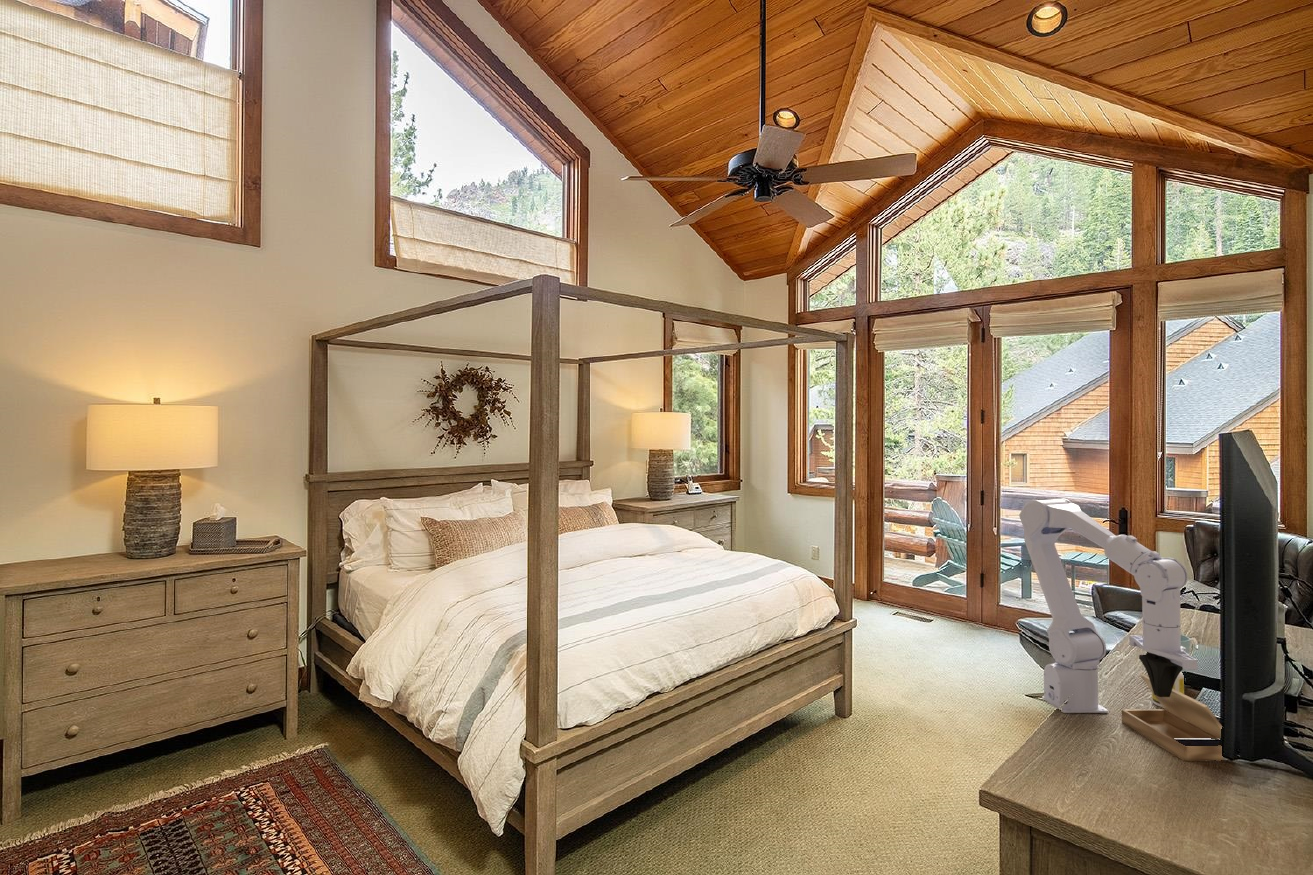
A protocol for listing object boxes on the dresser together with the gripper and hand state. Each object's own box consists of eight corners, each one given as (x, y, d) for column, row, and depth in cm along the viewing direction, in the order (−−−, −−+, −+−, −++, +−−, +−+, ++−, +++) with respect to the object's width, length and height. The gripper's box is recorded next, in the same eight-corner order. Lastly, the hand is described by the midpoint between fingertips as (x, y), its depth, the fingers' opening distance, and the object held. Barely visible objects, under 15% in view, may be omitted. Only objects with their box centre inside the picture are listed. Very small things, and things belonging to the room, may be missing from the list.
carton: (1184, 761, 117) (1184, 746, 117) (1121, 721, 133) (1121, 709, 133) (1233, 760, 117) (1233, 746, 117) (1164, 721, 133) (1164, 709, 133)
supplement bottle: (1173, 700, 143) (1172, 655, 143) (1190, 710, 138) (1190, 663, 138) (1146, 699, 143) (1145, 654, 143) (1162, 710, 138) (1162, 663, 138)
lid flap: (1204, 707, 117) (1207, 705, 117) (1139, 674, 133) (1141, 673, 133) (1232, 746, 117) (1235, 744, 117) (1164, 708, 133) (1166, 707, 133)
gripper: (1214, 634, 117) (1215, 711, 117) (1154, 612, 132) (1155, 681, 132) (1174, 635, 117) (1175, 711, 117) (1118, 613, 132) (1119, 681, 132)
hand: (1162, 695), depth 125 cm, fingers closed
